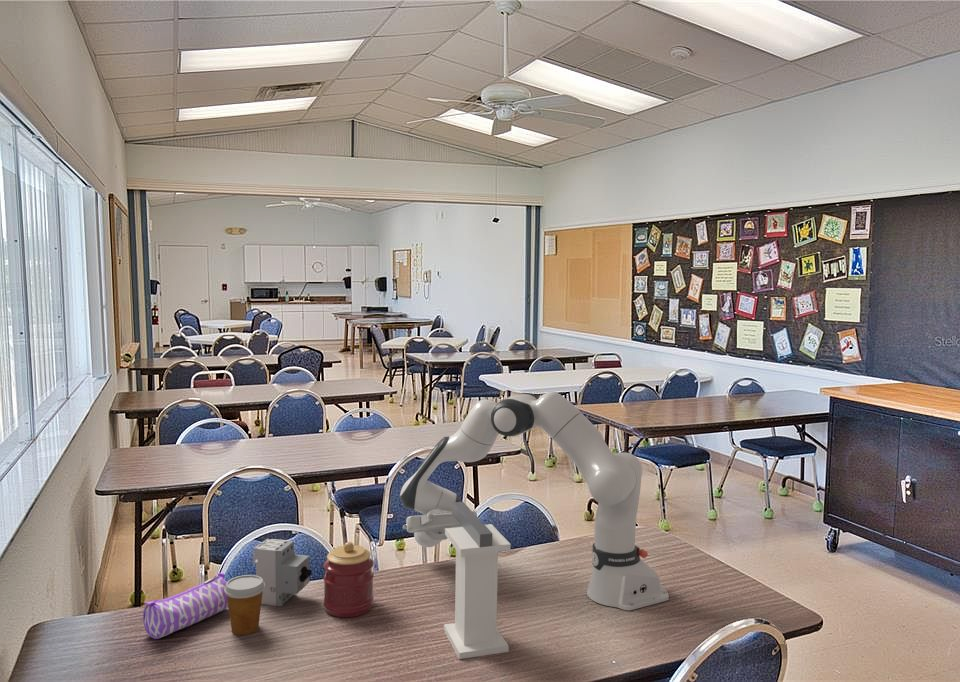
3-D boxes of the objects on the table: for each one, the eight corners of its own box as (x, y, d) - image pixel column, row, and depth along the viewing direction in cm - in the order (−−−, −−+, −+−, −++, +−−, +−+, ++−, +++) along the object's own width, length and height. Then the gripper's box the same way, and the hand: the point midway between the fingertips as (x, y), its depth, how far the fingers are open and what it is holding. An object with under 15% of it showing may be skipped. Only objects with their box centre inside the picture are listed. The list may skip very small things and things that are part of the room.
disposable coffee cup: (273, 623, 178) (272, 577, 177) (249, 641, 169) (248, 593, 168) (241, 617, 181) (240, 571, 180) (216, 634, 172) (215, 586, 171)
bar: (463, 512, 186) (463, 501, 186) (492, 546, 163) (492, 533, 163) (451, 513, 185) (452, 502, 185) (479, 547, 162) (480, 534, 162)
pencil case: (213, 601, 190) (212, 567, 189) (237, 609, 186) (237, 574, 185) (138, 637, 171) (137, 599, 170) (163, 647, 166) (162, 608, 166)
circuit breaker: (303, 608, 187) (302, 553, 185) (253, 602, 189) (252, 548, 188) (315, 596, 194) (315, 543, 193) (267, 590, 197) (266, 538, 195)
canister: (328, 622, 180) (327, 554, 178) (320, 600, 192) (319, 536, 190) (378, 614, 184) (378, 548, 183) (367, 593, 196) (367, 531, 195)
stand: (489, 623, 180) (491, 524, 178) (508, 651, 167) (510, 544, 164) (443, 630, 176) (445, 528, 174) (459, 659, 163) (460, 549, 161)
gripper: (400, 517, 205) (409, 507, 193) (468, 512, 211) (481, 502, 199) (402, 539, 202) (411, 531, 190) (470, 533, 209) (483, 524, 197)
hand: (447, 516), depth 195 cm, fingers open, 8 cm apart
